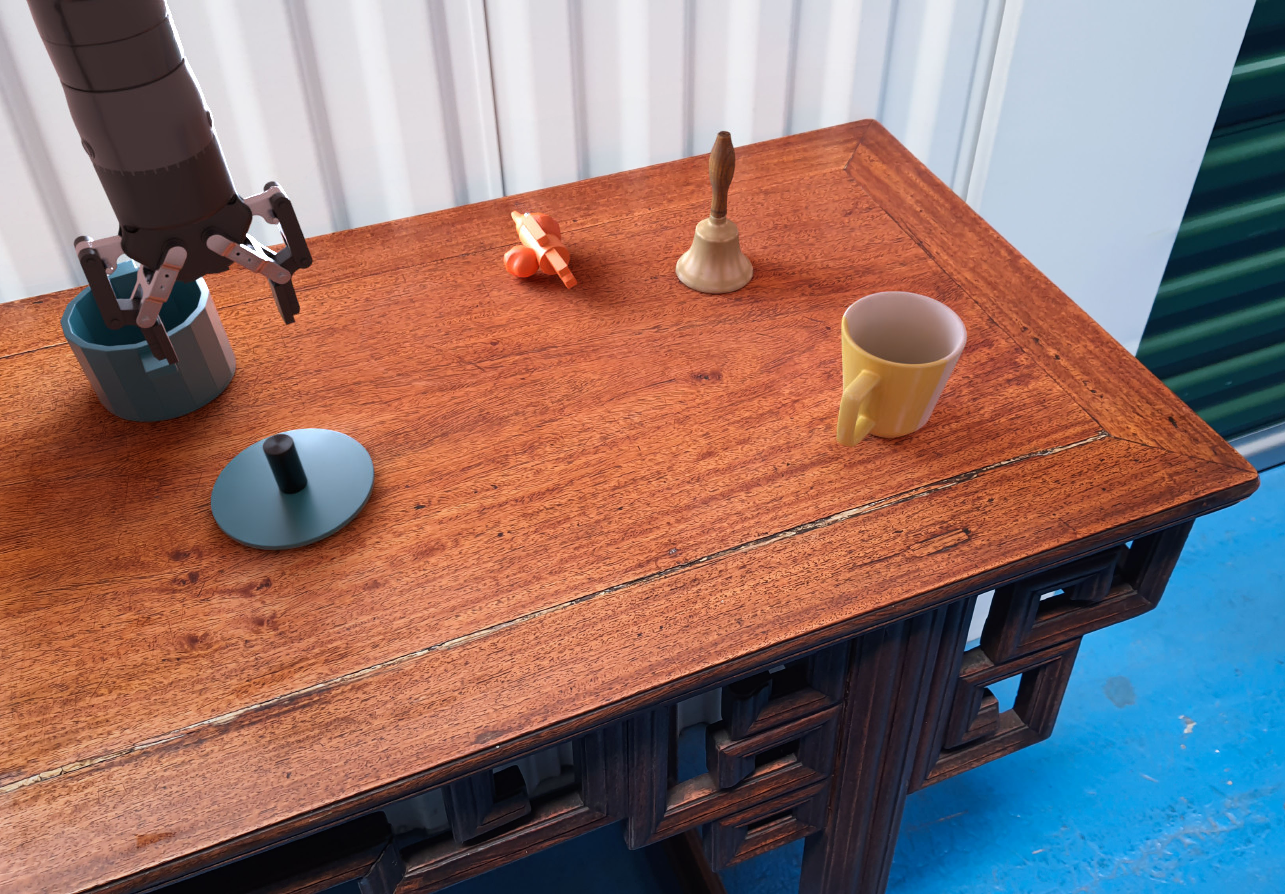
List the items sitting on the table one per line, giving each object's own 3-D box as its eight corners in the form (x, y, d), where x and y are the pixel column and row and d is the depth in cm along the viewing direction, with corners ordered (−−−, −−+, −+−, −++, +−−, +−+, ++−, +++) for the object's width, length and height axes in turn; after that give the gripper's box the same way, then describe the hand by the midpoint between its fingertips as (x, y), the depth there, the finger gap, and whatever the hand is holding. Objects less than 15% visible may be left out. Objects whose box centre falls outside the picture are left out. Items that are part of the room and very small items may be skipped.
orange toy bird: (581, 246, 99) (536, 189, 107) (518, 285, 99) (477, 225, 107) (598, 280, 103) (553, 223, 111) (537, 318, 103) (496, 258, 111)
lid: (238, 580, 78) (214, 532, 74) (197, 473, 86) (174, 424, 82) (399, 512, 83) (386, 464, 78) (346, 417, 91) (331, 368, 87)
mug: (877, 364, 95) (896, 274, 88) (964, 420, 90) (992, 329, 82) (777, 430, 89) (788, 339, 82) (864, 494, 84) (885, 403, 76)
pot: (119, 458, 87) (79, 387, 81) (84, 347, 98) (46, 277, 92) (259, 408, 92) (231, 336, 86) (211, 307, 103) (183, 237, 96)
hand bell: (755, 251, 109) (767, 114, 97) (750, 297, 103) (762, 157, 91) (680, 245, 109) (683, 109, 98) (670, 291, 104) (673, 151, 92)
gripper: (247, 84, 67) (308, 281, 78) (18, 140, 61) (120, 342, 73) (281, 130, 62) (340, 333, 74) (37, 196, 57) (141, 402, 69)
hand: (230, 337), depth 73 cm, fingers open, 8 cm apart
